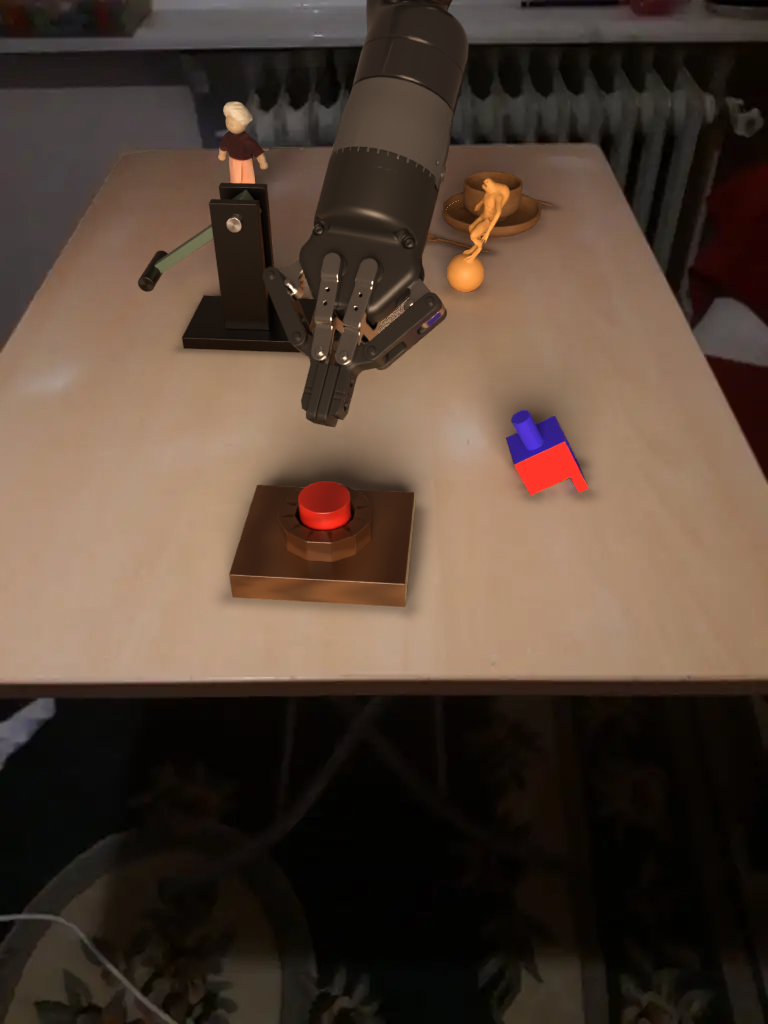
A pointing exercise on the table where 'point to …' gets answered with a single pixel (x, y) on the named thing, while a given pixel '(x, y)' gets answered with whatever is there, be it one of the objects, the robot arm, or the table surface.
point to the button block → (325, 550)
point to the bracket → (241, 279)
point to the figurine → (478, 239)
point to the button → (324, 506)
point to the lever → (178, 253)
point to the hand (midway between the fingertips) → (320, 422)
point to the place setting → (461, 214)
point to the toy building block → (543, 453)
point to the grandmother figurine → (240, 145)
